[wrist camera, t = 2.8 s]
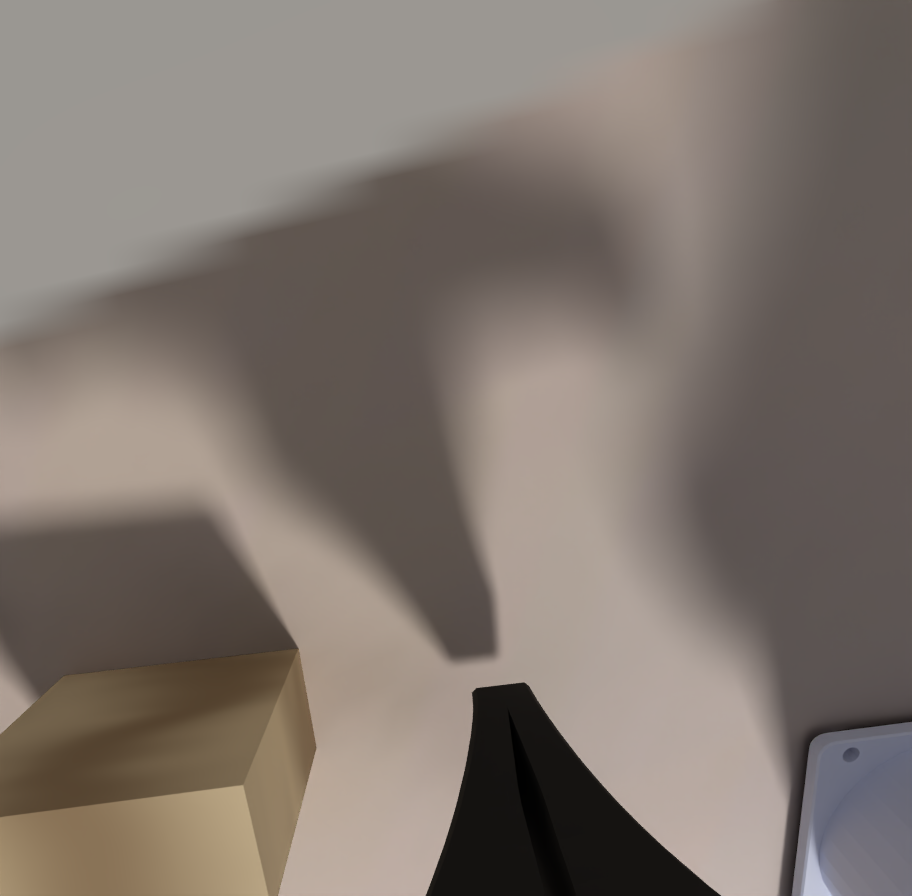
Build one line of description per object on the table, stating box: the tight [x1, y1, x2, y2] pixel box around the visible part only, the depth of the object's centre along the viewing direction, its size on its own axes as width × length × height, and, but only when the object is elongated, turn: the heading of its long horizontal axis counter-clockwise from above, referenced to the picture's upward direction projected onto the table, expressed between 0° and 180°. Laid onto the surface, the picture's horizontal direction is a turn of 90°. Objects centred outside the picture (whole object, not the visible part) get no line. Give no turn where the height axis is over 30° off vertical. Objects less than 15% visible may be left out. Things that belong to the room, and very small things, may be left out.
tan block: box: [0, 649, 316, 896], centre depth 11 cm, size 6×3×4 cm, turn 94°
